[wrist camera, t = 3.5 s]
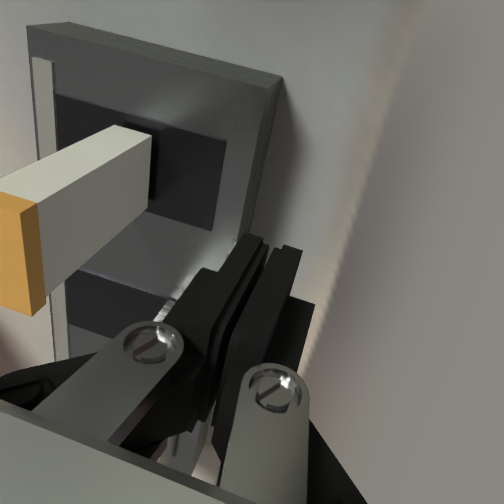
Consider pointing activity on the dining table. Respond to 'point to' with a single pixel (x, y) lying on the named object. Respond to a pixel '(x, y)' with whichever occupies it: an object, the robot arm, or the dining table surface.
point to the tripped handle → (68, 211)
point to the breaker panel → (151, 176)
